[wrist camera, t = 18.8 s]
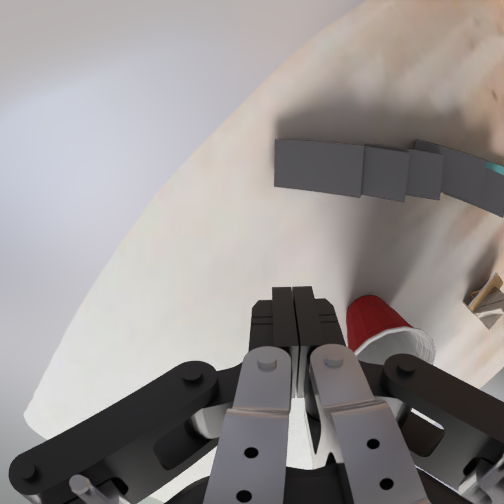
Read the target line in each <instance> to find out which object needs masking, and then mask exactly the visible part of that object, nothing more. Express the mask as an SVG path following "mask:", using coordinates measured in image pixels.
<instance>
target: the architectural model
mask: <svg viewBox="0 0 504 504" xmlns="http://www.w3.org/2000/svg"><path fill="white" fill-rule="evenodd" d="M502 285H503V281H502V280H501V278H500V277H499V275H498V274H497V273H496V272H495V273H494V275H493V276H492V277H491V279H490V280H488V281H487V282H486V284H485V285H484V286H483V287H482V289H480V290H477V291H474V292H471V293H470V295H471V296H472V297H473V299H472V301H471V302H470V303H469V304H468V305H466V304H465V303H464V301H463V303H464V305H465V306H466V307H467V308H468V309H469V310H470V311H471V312H472V313H473V314H474V316H475V317H476V318H477V319H478V318H479V319H480V320H481V321H482V323H483V324H484V325H485V326H486V327H487V328H488V329H489V331H490V330H491V328H492V327H493V326H494V325H495V324H496V323H497V321H498V320H499V319H500V318H501V317H502V315H503V314H504V293H502V292H501V291H500V290H499V289H500V287H501V286H502Z"/></svg>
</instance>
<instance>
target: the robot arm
mask: <svg viewBox="0 0 504 504" xmlns="http://www.w3.org/2000/svg"><path fill="white" fill-rule="evenodd" d="M296 391H297V398H303V397H304V398H305V411H304V419H305V424H306V429H307V434H308V440H309V445H310V450H311V456H312V464H313V468H312V470H304V469H298V468H292V467H286V458H287V443H288V427H289V413H290V410H291V398H295V392H296ZM412 408H414V409H415V410H417V411H419V412H420V413H422V414H424V415H425V416H427V417H429V418H430V419H432V420H434V421H436V422H437V423H439V424H440V425H442V427H443V428H444V430H443V429H440V428H438V427H436V426H434V425H433V424H431V423H429V422H428V421H426V420H424V419H423V418H421V417H419V416H418V415H416V414H414V413H413V412H411V410H412ZM217 445H218V446H217ZM216 446H217V450H216V454H215V458H214V462H213V466H212V470H211V474H210V476H207V477H204V478H202V479H200V480H198V481H195V482H193V483H192V484H190V485H188V486H187V487H185V488H184V489H183V490H181V491H180V492H179V493H177V494H176V495H175V496H174V497H172V498H171V499H170V500H168V501H167V502H166V503H164V504H504V402H502V401H500V400H498V399H496V398H494V397H493V396H491V395H489V394H487V393H485V392H483V391H481V390H479V389H477V388H475V387H473V386H471V385H469V384H467V383H466V382H464V381H462V380H460V379H458V378H456V377H454V376H452V375H450V374H448V373H446V372H445V371H443V370H441V369H439V368H437V367H435V366H433V365H431V364H429V363H428V362H426V361H424V360H422V359H420V358H418V357H416V356H414V355H411V354H405V353H400V354H395V355H392V356H390V357H389V358H387V360H386V361H385V363H384V365H380V364H372V363H366V362H363V361H360V360H358V359H357V357H356V355H355V353H354V352H353V351H352V350H351V349H349V348H348V347H346V344H345V341H344V338H343V335H342V331H341V328H340V325H339V323H338V319H337V316H336V313H335V310H334V307H333V305H332V304H331V303H330V302H329V301H328V300H326V299H325V298H324V299H315V298H314V294H313V290H312V287H311V286H303V287H292V290H291V287H272V300H258V302H257V303H256V304H255V305H254V306H253V308H252V318H251V329H250V340H249V351H248V353H247V354H246V355H245V357H244V359H243V362H242V363H240V364H239V365H237V366H235V367H232V368H229V369H225V370H220V371H216V370H215V368H214V367H213V366H211V365H210V364H208V363H206V362H202V361H188V362H184V363H182V364H180V365H178V366H176V367H175V368H173V369H171V370H170V371H168V372H166V373H165V374H163V375H162V376H160V377H158V378H157V379H155V380H153V381H152V382H150V383H149V384H147V385H145V386H144V387H142V388H140V389H139V390H137V391H135V392H134V393H132V394H130V395H128V396H127V397H125V398H123V399H122V400H120V401H118V402H116V403H115V404H113V405H111V406H110V407H108V408H106V409H104V410H103V411H101V412H99V413H97V414H95V415H94V416H92V417H90V418H88V419H87V420H85V421H83V422H81V423H79V424H77V425H76V426H74V427H72V428H70V429H68V430H66V431H64V432H63V433H61V434H59V435H57V436H55V437H53V438H51V439H49V440H47V441H46V442H44V443H42V444H40V445H38V446H36V447H34V448H32V449H30V450H28V451H26V452H24V453H22V454H20V455H18V456H17V457H16V458H15V459H14V460H13V461H12V463H11V465H10V468H9V480H10V482H11V484H12V486H13V487H14V489H15V490H17V491H18V492H19V493H20V494H21V495H23V496H24V497H25V498H26V499H28V500H29V501H30V502H31V503H32V504H137V503H138V502H140V501H141V500H143V499H144V498H146V497H147V496H149V495H151V494H152V493H154V492H155V491H157V490H158V489H160V488H161V487H162V486H164V485H165V484H167V483H168V482H170V481H171V480H172V479H174V478H175V477H177V476H178V475H179V474H181V473H182V472H183V471H185V470H186V469H188V468H189V467H190V466H192V465H193V464H194V463H196V462H197V461H198V460H199V459H201V458H202V457H203V456H205V455H206V454H207V453H208V452H210V451H211V450H212V449H213V448H215V447H216ZM415 465H416V466H418V467H420V468H421V469H423V470H424V471H426V472H428V473H429V474H431V475H432V476H434V477H436V478H438V479H439V480H441V481H443V482H444V483H446V484H447V485H449V486H451V487H453V488H454V489H456V490H458V493H456V492H455V491H453V490H452V489H450V488H448V487H447V486H445V485H444V484H442V483H441V482H439V481H438V480H436V479H435V478H433V477H432V476H430V475H428V474H427V473H425V472H424V471H422V470H420V469H418V468H416V467H415Z"/></svg>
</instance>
